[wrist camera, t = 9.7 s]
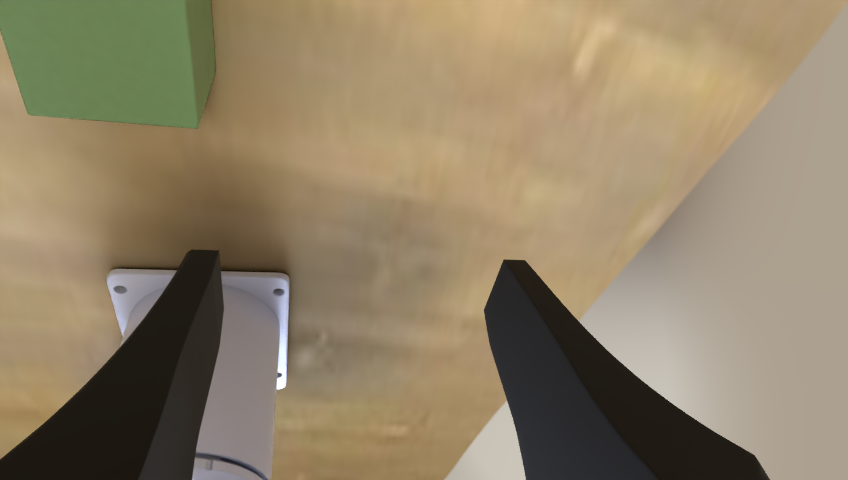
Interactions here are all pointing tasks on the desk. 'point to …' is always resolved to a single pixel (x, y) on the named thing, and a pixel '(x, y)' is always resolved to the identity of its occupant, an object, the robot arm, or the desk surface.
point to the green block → (112, 58)
